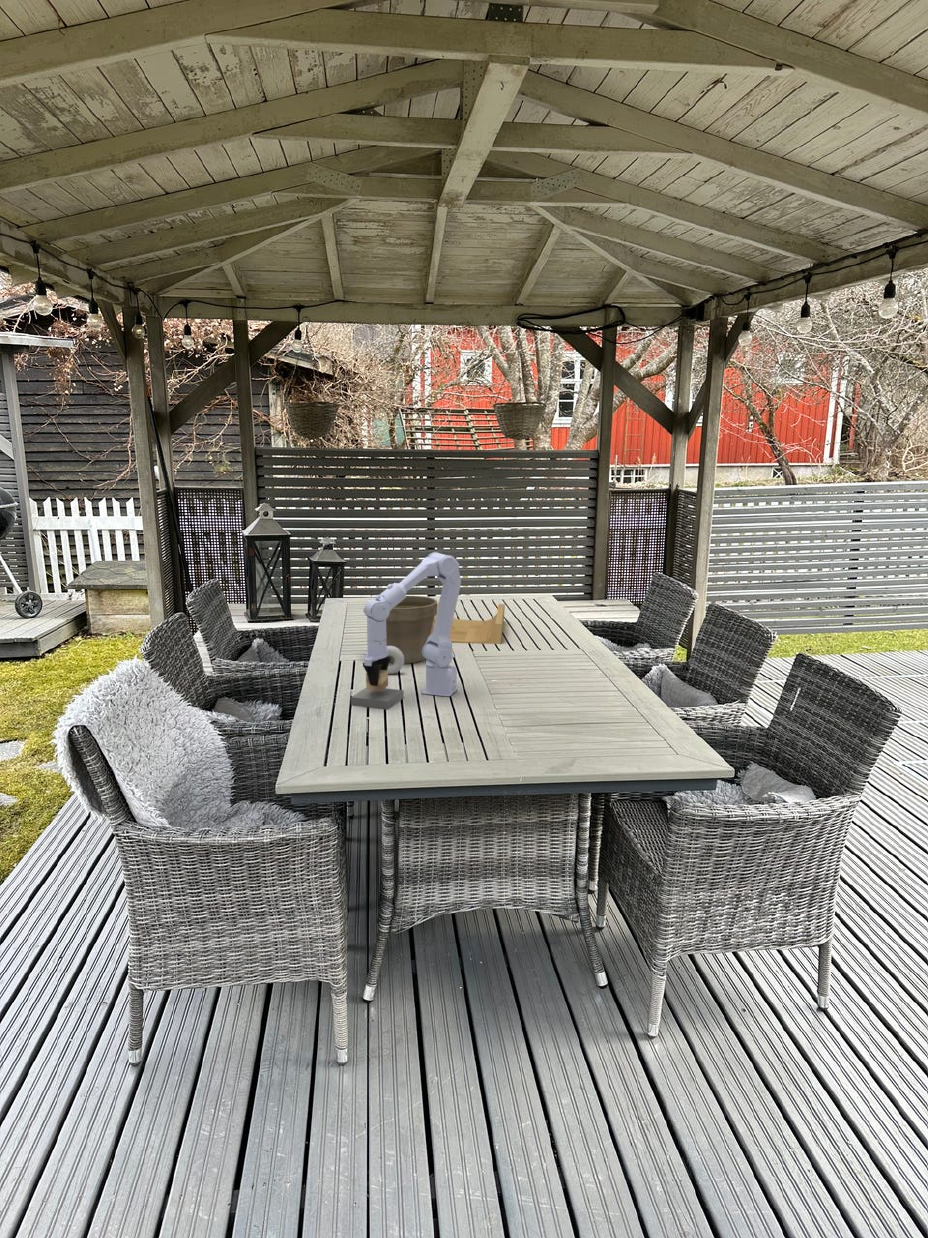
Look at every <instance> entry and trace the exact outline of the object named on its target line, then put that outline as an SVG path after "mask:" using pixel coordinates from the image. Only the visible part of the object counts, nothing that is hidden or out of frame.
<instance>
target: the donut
mask: <svg viewBox="0 0 928 1238" xmlns="http://www.w3.org/2000/svg"><path fill="white" fill-rule="evenodd" d="M387 648H389V655H390V656H393V657H394V659H395V662H394V663H391V664H390V663H389V665H388V668H387V670H388V675H395V674H397V673H399V672H400V671H401V670H402V668H403V667H404V665H405V664H404V655H403V653H402V651H400V650H399V649H398V648H396V647H395V646H387ZM389 655H387V656H389Z"/></svg>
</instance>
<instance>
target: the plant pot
mask: <svg viewBox="0 0 928 1238" xmlns="http://www.w3.org/2000/svg"><path fill="white" fill-rule="evenodd" d="M437 602H438V600H437V599H435V598H432V597H429V596H423V595H420V596H419V595H406V598H405V599H403V600H402V601H401V602H400V603H399V604H398V605H396V606H395V607H394V608H393V609H392V610H390V613H389V616H388V618H386V643H387V646H395V647H396V648H398V649H399V650H400V651H402V653H403V655H404V665H405V664H415V663H418V662H419V663H420V662H422V661H423V660H424V659H425V658H424V657H423V654H422V650H423V647H424V645H425V644H426V642H427V639H428V637H429V636H430V633H431V629H432V625H433V620H434V616H435V615H436V614H437ZM387 657H391V661H390V663H391V664H393V663H394V662H395V659H394V657H393V656H390V655H389V656H387Z"/></svg>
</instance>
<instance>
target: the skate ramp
mask: <svg viewBox="0 0 928 1238" xmlns="http://www.w3.org/2000/svg"><path fill="white" fill-rule="evenodd" d="M439 601H440V598H439V600H438V601H437V610H438V605H439ZM505 606H506V604H505V601H503V603H498V606H497V610H496V611H497V612H496V614H495V615H494V616H493V617H492V618H489V619H486V620H478V619H477V620H474V619H459V618H455V617H454V618H453V622H452V627H451V632H450V636H449V637H450V640H451V642H452V644H453V643H455V644H480V645H481V644H482V645H483V644H485V645H501V643H502V637H503V636H502V635H503V628H504V623H505V608H506V607H505ZM436 615H437V614H436ZM436 615H435V616H434V620H433V625H432V629H431V633H430V635H431V634H432V633H433V629H434V624H435V619H436Z"/></svg>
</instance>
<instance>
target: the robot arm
mask: <svg viewBox="0 0 928 1238" xmlns="http://www.w3.org/2000/svg"><path fill="white" fill-rule="evenodd" d="M459 569H460V563H459V561H458V560H457V559H456V558H455V557H454V556H453V555H447V554H445V553H444V554H443V553H440V552H438V551H433V552H431V553H429V554H428V556H426V557H424V558H423V559H422V561H421V562H420V563H419V564H418V565H417V566H415V568H414V569H413V570H412V571H411V572H410V573H409V574H408V575H407V576H406V577H404V578H403V579H402V580H401V581H400V582H398V583H397V582H394V583H389V584H388V585H386V589H384V590H383V591H382V592H381V593H380V594H377V595H376V596H375V598H373V599H372V598H371V599H369V600H368V601H367V602H366V603H365V605H364V608H363V614H364V615H365V616H366V631H367V632H366V633H367V634H366V635H367V636H366V637H367V640H366V641H367V642H366V643H367V651H365V652H364V653H363V655H364V656H365V658H364V660H363V662H362V667H363V669H364V671H365V672H366V673H367V675H368V678H369V682H370V685H371V686H377V685H378V679H379V672H380V670H387V668H388V665H389V664H390V663H391V662H390V661H391V657H387V655H389V648H387V643H386V618H388V616H389V613H390V610H392V609H393V608H394V607H395V606H396V605H398V604H399V603H400V602H401V601H402V600H403V599H405V598H406V596H407V595H408V594H407V593H408V591H410V590H411V589H413V588H414V587H415V586H417V585H418V584H419V583H421V582H422V581H424V580H425V579H426V578H427V577H437V578H438V579H439V581H440V582H441V584H442V587H441V593H440V596H439V599H440V601H439V600H438V603H439V605H438V610H437V615H436V619H435V624H434V629H433V633H432V634H431V635H430V636H429V637H428V639H427V642H426V644H425V645H424V647H423V650H422V654H423V657H424V659H425V689H424V690H423V691H422V692H421V694H423V695H431V696H441V697H451V696H452V695H453V694H455V692H456V691H457V690H458V688H457V684H458V683H457V681H458V680H457V673H458V672H457V667H456V666H453V665H451V662H452V660H453V658H454V657H453V656H454V655H453V643H452V642H451V640H450V637H449V636H450V632H451V627H452V622H453V618H455V614H456V608H457V603H458V599H459V594H460V589H461V586H462V579H461V575H460V570H459Z"/></svg>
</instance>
